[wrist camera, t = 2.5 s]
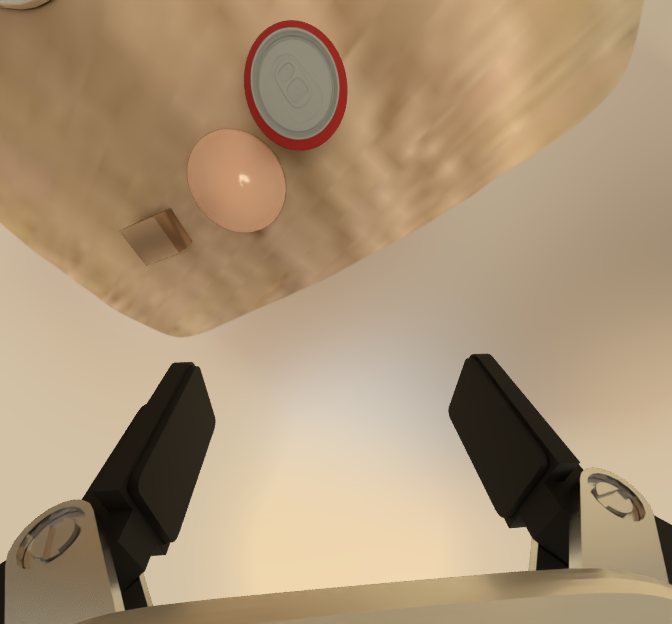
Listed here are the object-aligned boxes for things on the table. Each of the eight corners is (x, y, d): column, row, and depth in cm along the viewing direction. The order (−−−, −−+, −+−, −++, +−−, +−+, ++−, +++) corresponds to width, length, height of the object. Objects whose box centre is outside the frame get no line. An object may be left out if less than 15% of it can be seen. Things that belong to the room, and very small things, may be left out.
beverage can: (296, 161, 30) (289, 174, 19) (249, 95, 26) (212, 69, 16) (349, 116, 28) (371, 104, 18) (306, 39, 25) (304, -28, 15)
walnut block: (139, 220, 32) (119, 231, 28) (170, 208, 31) (153, 216, 28) (162, 252, 34) (146, 265, 30) (192, 241, 33) (179, 253, 30)
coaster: (177, 128, 27) (175, 128, 27) (281, 130, 28) (281, 130, 28) (202, 231, 33) (200, 232, 32) (289, 230, 33) (288, 232, 33)
